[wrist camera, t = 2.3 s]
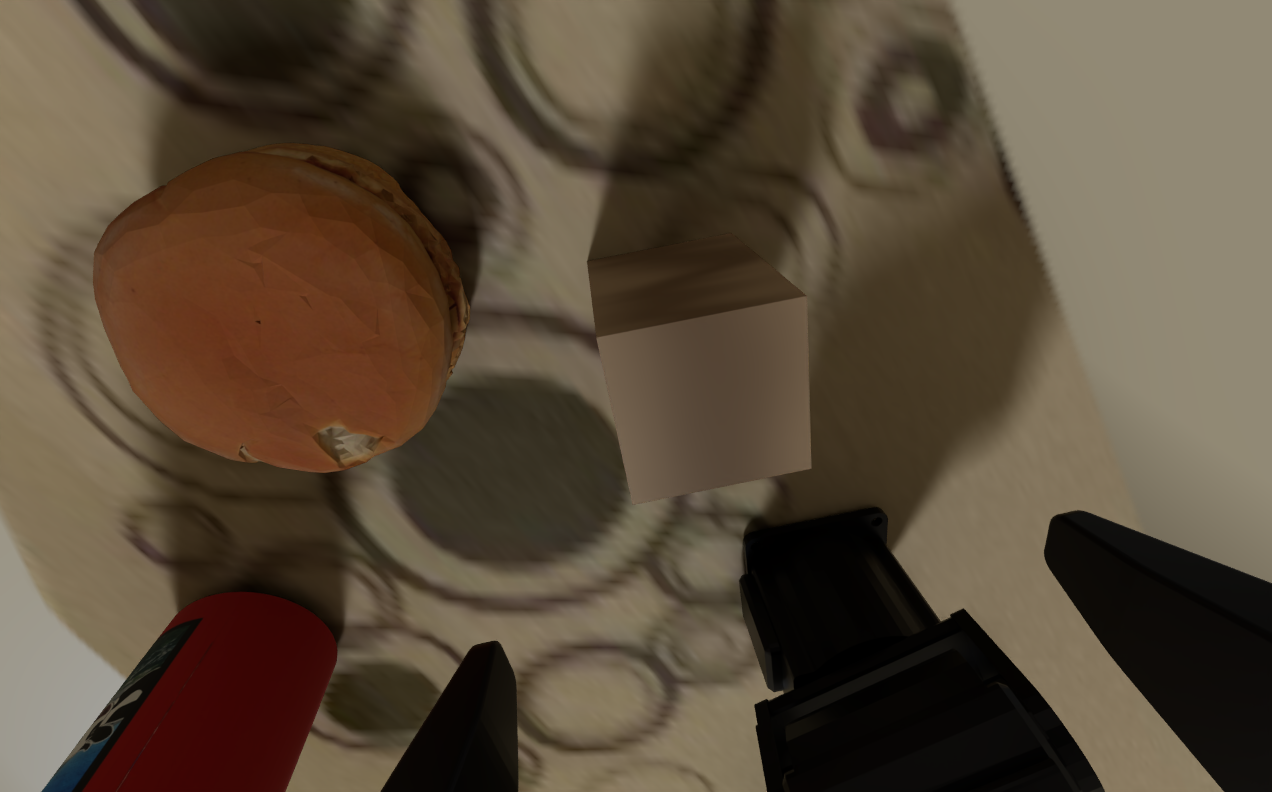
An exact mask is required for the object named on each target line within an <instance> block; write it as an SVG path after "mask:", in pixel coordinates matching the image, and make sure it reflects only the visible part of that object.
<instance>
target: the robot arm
mask: <svg viewBox="0 0 1272 792" xmlns="http://www.w3.org/2000/svg"><path fill="white" fill-rule="evenodd" d="M874 518H876V519H875V520H873V519H874ZM887 525H888V518H887V516H886V514H885V513H884V512H883V510H882V509H881V508H878V507H874V508H868V509H863V510H858V511H854V512H849V513H844V514H839V515H834V516H829V517H824V518H819V519H815V520H810V521H805V522H800V523H795V524H790V525H785V526H780V527H776V528H771V529H766V530H761V531H756V532H752V533H749V534H748V535H746V536H745V538H744V539H743V549H744V558H745V568H746V574H745V575H742V576H741V578H740V580H739V584H740V593H741V602H742V611H743V617H744V620H745V623H746V626H747V629H748V632H749V635H750V637H751V640H752V643H753V646H754V649H755V652H756V655H757V658H758V661H759V664H760V667H761V670H762V673H763V676H764V679H765V682H766V685H767V687H768V688H769V689H770V690H772V691H773V692H777V691H782V690H783V692H784V694H783V695H780V696H778V697H776V698H774V699H772V700H769V701H768V700H767V699H765V700H763V701H761V702H759V703H757V704H755V705H754V707H755V712H756V718H757V723H758V725H756V732H757V737H758V743H759V748H760V754H761V759H762V765H763V771H764V776H765V782H766V787H767V792H1105V791H1104V789H1103V786H1102V784H1101V783H1100V781H1099V779H1098V777H1097V775H1096V773H1095V772H1094V770H1093V768H1092V767H1091V765H1090V763H1089V762H1088V760H1087V759H1086V757H1085V755H1084V754H1083V752H1082V751H1081V749H1080V748H1079V746H1078V745H1077V743H1076V742H1075V740H1074V739H1073V737H1072V736H1071V735H1070V733H1069V732H1068V730H1067V729H1066V727H1065V726H1064V725H1063V723H1062V722H1061V720H1060V719H1059V718H1058V716H1057V715H1056V714H1055V712H1054V711H1053V710H1052V708H1051V707H1050V706H1049V704H1048V703H1047V702H1046V701H1045V699H1044V698H1043V697H1042V696H1041V694H1040V693H1039V692H1038V691H1037V690H1036V688H1035V687H1034V686H1033V685H1032V684H1031V683H1030V681H1029V680H1028V679H1027V678H1026V677H1025V676H1024V675H1023V674H1022V673H1021V671H1020V670H1019V669H1018V668H1017V667H1016V666H1015V665H1014V664H1013V663H1012V661H1011V660H1010V659H1009V658H1008V657H1007V656H1006V655H1005V654H1004V653H1003V651H1002V650H1001V649H1000V648H999V647H998V646H997V645H996V644H995V643H994V641H993V640H992V639H991V638H990V637H989V636H988V635H987V634H986V632H985V631H984V630H983V629H982V628H981V627H980V626H979V625H978V624H977V622H976V621H975V620H974V619H973V618H972V617H971V616H970V615H969V614H968V612H967V611H966V610H965V609H964V608H963V609H961V610H959V611H957V612H955V613H952V614H950V616H951V617H950V618H948V619H946V620H944V621H940V620H939V618H938V617H937V616H936V614H935V613H934V611H933V610H932V608H931V607H930V606H929V604H928V603H927V601H926V600H925V599H924V597H923V596H922V594H921V593H920V592H919V590H918V589H917V587H916V586H915V585H914V583H913V582H912V580H911V579H910V578H909V576H908V575H907V573H906V572H905V571H904V569H903V568H902V566H901V565H900V564H899V562H898V561H897V559H896V558H895V556H894V555H893V554H892V552H891V551H890V549H889V548H888V547H887V545H886V543H887ZM755 542H758V543H757V544H755V545H752V544H753V543H755ZM1044 557H1045V560H1046V563H1047V565H1048V567H1049V569H1050V570H1051V572H1052V573H1053V575H1054V576H1055V578H1056V579H1057V581H1058V582H1059V583H1060V585H1061V586H1062V588H1063V589H1064V591H1065V592H1066V593H1067V595H1068V596H1069V598H1070V599H1071V601H1072V602H1073V604H1074V605H1075V606H1076V608H1077V609H1078V611H1079V612H1080V614H1081V615H1082V616H1083V618H1084V619H1085V621H1086V622H1087V624H1088V625H1089V626H1090V628H1091V629H1092V631H1093V632H1094V634H1095V635H1096V637H1097V638H1098V639H1099V641H1100V642H1101V644H1102V645H1103V646H1104V648H1105V649H1106V650H1107V652H1108V653H1109V654H1110V656H1111V657H1112V658H1113V659H1114V661H1115V662H1116V663H1117V664H1118V666H1119V667H1120V668H1121V669H1122V671H1123V672H1124V673H1125V674H1126V675H1127V677H1128V678H1129V679H1130V680H1131V681H1132V683H1133V684H1134V685H1135V686H1136V687H1137V689H1138V690H1139V691H1140V692H1141V693H1142V694H1143V696H1144V697H1145V698H1146V699H1147V700H1148V702H1149V703H1150V704H1151V705H1152V706H1153V708H1154V709H1155V710H1156V711H1157V712H1158V714H1159V715H1160V716H1161V717H1162V718H1163V719H1164V721H1165V722H1166V723H1167V724H1168V725H1169V727H1170V728H1171V729H1172V730H1173V731H1174V733H1175V734H1176V735H1177V736H1178V737H1179V739H1180V740H1181V741H1182V742H1183V743H1184V744H1185V746H1186V747H1187V748H1188V749H1189V750H1190V752H1191V753H1192V754H1193V755H1194V756H1195V758H1196V759H1197V760H1198V761H1199V762H1200V764H1201V765H1202V766H1203V767H1204V768H1205V769H1206V771H1207V772H1208V773H1209V774H1210V775H1211V777H1212V778H1213V779H1214V780H1215V781H1216V783H1217V784H1218V785H1219V786H1220V787H1221V789H1222V790H1223V791H1224V792H1272V583H1270V582H1267V581H1265V580H1262V579H1260V578H1257V577H1254V576H1251V575H1249V574H1246V573H1244V572H1241V571H1239V570H1236V569H1234V568H1231V567H1228V566H1226V565H1223V564H1221V563H1218V562H1215V561H1213V560H1210V559H1208V558H1205V557H1203V556H1200V555H1197V554H1195V553H1192V552H1189V551H1187V550H1184V549H1182V548H1179V547H1177V546H1174V545H1171V544H1169V543H1166V542H1164V541H1161V540H1158V539H1156V538H1153V537H1151V536H1148V535H1146V534H1143V533H1140V532H1138V531H1135V530H1133V529H1130V528H1127V527H1125V526H1122V525H1120V524H1117V523H1114V522H1112V521H1109V520H1107V519H1104V518H1101V517H1099V516H1096V515H1094V514H1091V513H1088V512H1085V511H1081V510H1077V511H1071V512H1067V513H1062V514H1058V515H1055V516H1054V517H1053V518H1052V519H1051V521H1050V525H1049V529H1048V534H1047V539H1046V544H1045V549H1044ZM381 792H518V735H517V690H516V679H515V675H514V672H513V669H512V667H511V665H510V663H509V661H508V658H507V656H506V654H505V652H504V650H503V648H502V646H501V644H500V643H499V642H498V641H490V642H486V643H481V644H477V645H474V646H473V647H472V648H471V649H470V650H469V651H468V653H467V655H466V656H465V658H464V659H463V661H462V663H461V664H460V666H459V667H458V669H457V671H456V672H455V674H454V675H453V677H452V678H451V680H450V682H449V683H448V685H447V686H446V688H445V690H444V691H443V693H442V694H441V696H440V698H439V699H438V701H437V702H436V704H435V706H434V707H433V709H432V710H431V712H430V714H429V715H428V717H427V718H426V720H425V721H424V723H423V725H422V726H421V728H420V729H419V731H418V733H417V734H416V736H415V737H414V739H413V741H412V742H411V744H410V745H409V747H408V749H407V750H406V752H405V753H404V755H403V757H402V758H401V760H400V761H399V763H398V764H397V766H396V768H395V769H394V771H393V772H392V774H391V776H390V777H389V779H388V780H387V782H386V784H385V785H384V787H383V788H382V790H381Z"/></svg>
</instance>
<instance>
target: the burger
mask: <svg viewBox="0 0 1272 792" xmlns="http://www.w3.org/2000/svg"><path fill="white" fill-rule="evenodd" d="M93 286H94V294H95V300H96V303H97V307H98V310H99V313H100V316H101V320H102V323H103V326H104V329H105V331H106V334H107V336H108V338H109V341H110V343H111V345H112V348H113V350H114V352H115V355H116V357H117V359H118V362H119V364H120V366H121V368H122V370H123V372H124V373H125V375H126V377H127V379H128V381H129V383H130V386H131V388H132V390H133V392H134V393H135V394H136V395H137V396H138V397H139V398H140V399H141V400H142V401H143V403H144V404H145V405H146V406H147V407H148V408H149V409H150V410H151V411H152V412H153V414H154V415H155V416H156V417H157V418H158V419H159V420H160V421H161V422H162V423H163V424H165V425H166V426H167V427H168V428H169V429H171V430H172V431H173V432H174V433H175V434H177V435H178V436H179V437H180V438H181V439H183V440H184V441H186V442H188V443H191V444H193V445H195V446H198V447H200V448H203V449H205V450H208V451H210V452H213V453H215V454H217V455H220V456H222V457H225V458H227V459H230V460H236V461H242V462H249V463H257V462H259V461H262V462H265V463H268V464H271V465H274V466H277V467H281V468H287V469H294V470H301V471H307V472H320V473H328V472H334V471H341V470H346V469H349V468H352V467H354V466H357V465H360V464H363V463H365V462H367V461H369V460H370V459H371V458H372V457H374V456H376V455H379V454H381V453H384V452H386V451H389V450H391V449H394V448H397V447H399V446H401V445H403V444H404V443H405V442H406V441H407V440H409V439H410V438H411V437H413V436H414V435H415V434H416V433H418V432H419V431H420V430H421V429H423V428H424V426H425V425H426V423H427V422H428V420H429V419H430V417H431V416H432V414H433V413H434V411H435V410H436V408H437V405H438V403H439V401H440V398H441V396H442V394H443V392H444V389H445V387H446V381H447V380H448V379H449V377H450V376H451V375H452V373H453V372H452V369H453V368H454V367H455V365H456V362H457V360H458V358H459V356H460V354H461V351H462V348H463V343H464V340H465V333H466V326H467V324H468V322H469V319H470V305H469V303H468V300H467V297H466V295H465V292H464V290H463V285H462V281H461V278H460V272H459V267H458V266H457V264H456V263H455V262H454V261H453V259H452V252H451V249H450V248H449V246H448V244H447V242H446V240H445V239H444V238H443V237H442V235H441V234H440V233H439V232H438V231H437V230H436V229H435V228H434V227H433V225H432V224H431V223H430V222H429V220H428V219H427V218H426V217H425V216H424V215H423V214H422V213H421V211H420V210H419V208H418V207H417V206H416V205H415V204H414V202H413V201H412V200H411V199H409V198H408V197H407V196H406V195H405V194H404V192H403V191H402V190H401V188H400V186H399V184H398V183H397V181H396V180H394V178H393V177H391V176H390V175H389V174H388V173H386V172H385V171H384V170H383V169H381V168H380V167H379V166H377V165H376V164H374V163H372V162H370V161H368V160H366V159H364V158H361V157H358V156H356V155H353V154H350V153H347V152H344V151H340V150H337V149H333V148H330V147H326V146H315V145H308V144H295V143H279V144H271V145H266V146H262V147H258V148H254V149H251V150H249V151H244V152H238V153H234V154H229V155H225V156H221V157H217V158H213V159H211V160H209V161H207V162H204V163H202V164H200V165H198V166H196V167H194V168H192V169H190V170H188V171H186V172H184V173H183V174H181V175H179V176H178V177H176V178H174V179H173V180H171V181H169V182H168V184H167V185H166V186H161V187H159V188H157V189H155V190H154V191H152V192H150V193H149V194H147V195H145V196H143V197H142V198H140V199H138V200H137V201H135V202H133V203H132V204H131V205H130V206H129V207H128V208H126V209H125V210H124V211H123V212H122V213H121V214H119V215H118V216H117V217H116V218H115V219H114V220H113V221H112V222H111V223H110V224H109V225H108V227H107V229H106V231H105V232H104V234H103V236H102V238H101V240H100V241H99V243H98V246H97V248H96V250H95V252H94V270H93Z"/></svg>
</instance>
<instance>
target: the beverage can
mask: <svg viewBox="0 0 1272 792" xmlns="http://www.w3.org/2000/svg"><path fill="white" fill-rule="evenodd" d="M336 661H337V645H336V642H335V639H334V637H333V635H332V633H331V631H330V630H329V629H328V627H327V626H326V625H325V624H324V622H322V621H321V620H320V619H319V618H318V617H317V616H316V615H315V614H313V613H312V612H310V611H309V610H307V609H306V608H304V607H302V606H300V605H298V604H296V603H294V602H291V601H289V600H286V599H284V598H280V597H277V596H273V595H268V594H263V593H255V592H227V593H220V594H215V595H211V596H208V597H204V598H202V599H199V600H197V601H195V602H193V603H191V604H189V605H188V606H186V607H185V608H184V609H182V610H181V611H180V612H179V613H178V614H177V615H176V616H175V617H174V618H173V620H172V621H171V622H170V624H169V625H168V626H167V627H166V629H165V630H164V631H163V633H162V634H161V635H160V636H159V638H158V639H157V640H156V642H155V643H154V644H153V646H152V647H151V648H150V649H149V651H148V652H147V653H146V655H145V656H144V657H143V658H142V660H141V661H140V662H139V664H138V665H137V666H136V668H135V669H134V670H133V671H132V673H131V674H130V675H129V677H128V678H127V679H126V681H125V682H124V683H123V685H122V686H121V687H120V689H119V690H118V691H117V693H116V694H115V695H114V696H113V698H112V699H111V700H110V702H109V703H108V704H107V706H106V707H105V708H104V709H103V711H102V712H101V713H100V715H99V716H98V717H97V719H96V720H95V721H94V723H93V724H92V725H91V727H90V728H89V729H88V730H87V732H86V733H85V734H84V736H83V737H82V738H81V740H80V741H79V742H78V744H77V745H76V747H75V748H74V749H73V750H72V752H71V753H70V755H69V756H68V757H67V758H66V760H65V761H64V762H63V764H62V765H61V766H60V768H59V769H58V770H57V772H56V773H55V774H54V776H53V777H52V779H51V780H50V781H49V783H48V784H47V786H46V787H45V788H44V789H43V790H42V792H285V791H286V789H287V786H288V784H289V781H290V779H291V776H292V774H293V771H294V769H295V766H296V764H297V761H298V759H299V756H300V754H301V751H302V749H303V746H304V744H305V741H306V739H307V736H308V734H309V731H310V729H311V726H312V724H313V721H314V719H315V716H316V714H317V711H318V709H319V706H320V703H321V701H322V698H323V696H324V693H325V691H326V688H327V685H328V683H329V680H330V678H331V675H332V673H333V670H334V667H335V665H336Z"/></svg>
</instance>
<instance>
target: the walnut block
mask: <svg viewBox="0 0 1272 792" xmlns="http://www.w3.org/2000/svg"><path fill="white" fill-rule="evenodd" d="M587 265H588V273H589V281H590V289H591V297H592V305H593V314H594V322H595V330H596V338H597V342H598V347H599V352H600V356H601V361H602V365H603V370H604V375H605V379H606V384H607V389H608V393H609V398H610V402H611V407H612V412H613V416H614V421H615V425H616V430H617V435H618V439H619V444H620V448H621V453H622V458H623V462H624V467H625V471H626V476H627V481H628V485H629V490H630V494H631V499H632V504H633V505H635V504H640V503H645V502H650V501H655V500H660V499H664V498H669V497H674V496H679V495H684V494H689V493H694V492H699V491H704V490H709V489H714V488H719V487H724V486H728V485H733V484H738V483H743V482H748V481H753V480H758V479H763V478H768V477H773V476H778V475H783V474H788V473H792V472H797V471H802V470H807V469H811V433H810V394H809V355H808V316H807V296H806V295H805V294H804V293H803V292H802V291H800V290H799V289H798V288H797V287H796V286H794V285H793V284H792V283H791V282H790V281H788V280H787V279H786V278H785V277H784V276H782V275H781V274H780V273H779V272H778V271H776V270H775V269H774V268H773V267H772V266H770V265H769V264H768V263H767V262H766V261H764V260H763V259H762V258H761V257H760V256H758V255H757V254H756V253H755V252H754V251H752V250H751V249H750V248H749V247H748V246H746V245H745V244H744V243H743V242H742V241H740V240H739V239H738V238H737V237H736V236H734V235H733V234H732V233H728V234H723V235H718V236H713V237H708V238H703V239H698V240H693V241H688V242H683V243H677V244H672V245H667V246H662V247H657V248H652V249H647V250H642V251H637V252H632V253H627V254H621V255H616V256H611V257H606V258H601V259H596V260H591V261H587Z"/></svg>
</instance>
